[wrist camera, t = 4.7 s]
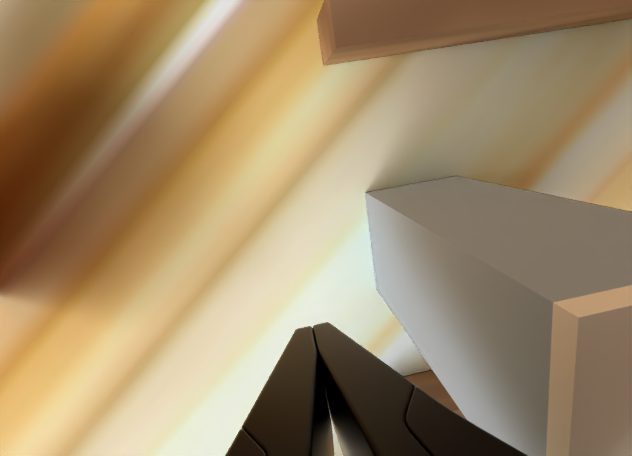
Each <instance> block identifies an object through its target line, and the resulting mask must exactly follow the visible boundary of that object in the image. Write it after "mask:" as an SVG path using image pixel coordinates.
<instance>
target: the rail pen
mask: <svg viewBox="0 0 632 456" xmlns="http://www.w3.org/2000/svg"><path fill="white" fill-rule="evenodd" d="M627 19H632V0H324V3H323V6H322V8H321V11H320V13H319V16H318V19H317V24H318V31H319V38H320V45H321V52H322V59H323V65H330V64H337V63H343V62H350V61H356V60H363V59H370V58H376V57H383V56H389V55H396V54H403V53H409V52H416V51H422V50H429V49H436V48H442V47H449V46H455V45H462V44H469V43H475V42H482V41H488V40H495V39H502V38H508V37H515V36H521V35H528V34H535V33H541V32H548V31H554V30H561V29H568V28H574V27H581V26H587V25H594V24H601V23H607V22H614V21H620V20H627ZM405 378H406V379H407V380H409V381H410V382H411V383H413V384H414V385H415V387H419V388H420V389H421V390H423V391H424V392H425V393H427V394H428V395H430V396H431V397H432V398H434V399H435V400H437V401H438V402H440V403H441V404H443V405H444V406H446V407H447V408H449V409H450V410H452V411H453V412H455V413H456V414H458V415H460V416H461V417H463V418H465V416H464V415H463V413H462V412H461V411H460V409H459V408H458V406H457V405H456V403H455V402H454V400H453V399H452V398H451V396H450V395H449V393H448V392H447V390H446V389H445V387H444V386H443V385H442V383H441V382H440V380H439V379H438V377H437V376H436V374H435V373H434V372H433V370H431V371H427V372H422V373H418V374H414V375H409V376H405ZM465 419H466V418H465ZM466 420H467V419H466Z"/></svg>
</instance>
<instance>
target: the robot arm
mask: <svg viewBox="0 0 632 456" xmlns="http://www.w3.org/2000/svg"><path fill="white" fill-rule="evenodd" d="M329 410H330V412H329ZM330 414H331V417H330ZM331 419H332V422H333V425H334V429H335V432H336V435H337V438H338V441H339V444H340V446H341V449H342V452H343V455H344V456H528V455H526V454H524V453H523V452H521V451H519V450H518V449H516V448H514V447H512V446H511V445H509V444H507V443H505V442H504V441H502V440H500V439H499V438H497V437H495V436H493V435H492V434H490V433H488V432H486V431H485V430H483V429H481V428H479V427H478V426H476V425H475V424H473V423H471V422H470V421H468V420H466V419H465V418H463V417H461V416H460V415H458V414H456V413H455V412H453V411H452V410H450V409H449V408H447V407H446V406H444V405H443V404H441V403H440V402H438V401H437V400H435V399H434V398H432V397H431V396H430V395H428V394H427V393H425V392H424V391H423V390H421V389H420V388H419V387H415V385H414V384H413V383H411V382H410V381H409V380H407V379H406V378H405V377H403V376H402V375H400V374H399V373H398V372H396V371H395V370H394V369H392V368H391V367H389V366H388V365H387V364H385V363H384V362H383V361H381V360H380V359H378V358H377V357H376V356H374V355H373V354H372V353H370V352H369V351H367V350H366V349H365V348H363V347H362V346H360V345H359V344H358V343H356V342H355V341H354V340H352V339H351V338H349V337H348V336H347V335H345V334H344V333H343V332H341V331H340V330H338V329H337V328H336V327H334V326H333V325H332V324H330V323H328V322H326V323H321V324H317V325H314V326H313V328H312V327H311V326H308V327H304V328H299V329H296V330H295V332H294V334H293V336H292V337H291V339H290V341H289V343H288V345H287V346H286V348H285V350H284V352H283V354H282V355H281V357H280V359H279V361H278V363H277V364H276V366H275V368H274V370H273V372H272V373H271V375H270V377H269V379H268V381H267V382H266V384H265V386H264V388H263V390H262V391H261V393H260V395H259V397H258V399H257V400H256V402H255V404H254V406H253V408H252V409H251V411H250V413H249V415H248V417H247V418H246V420H245V422H244V424H243V426H242V429H241V430H240V431H239V432H238V434H237V436H236V438H235V440H234V441H233V443H232V445H231V447H230V448H229V450H228V452H227V453H226V455H225V456H334V447H333V435H332V425H331Z"/></svg>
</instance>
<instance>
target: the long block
mask: <svg viewBox="0 0 632 456" xmlns="http://www.w3.org/2000/svg"><path fill="white" fill-rule="evenodd" d="M365 196H366V204H367V213H368V221H369V230H370V238H371V246H372V255H373V263H374V271H375V280H376V288H377V291H378V292H379V294H380V295H381V297H382V298H383V299H384V301H385V302H386V304H387V305H388V307H389V308H390V310H391V311H392V312H393V314H394V315H395V317H396V318H397V320H398V321H399V323H400V324H401V325H402V327H403V328H404V330H405V331H406V333H407V334H408V336H409V337H410V338H411V340H412V341H413V343H414V344H415V346H416V347H417V348H418V350H419V351H420V353H421V354H422V356H423V357H424V359H425V360H426V361H427V363H428V364H429V366H430V367H431V369H432V370H433V372H434V373H435V374H436V376H437V377H438V379H439V380H440V382H441V383H442V385H443V386H444V387H445V389H446V390H447V392H448V393H449V395H450V396H451V398H452V399H453V400H454V402H455V403H456V405H457V406H458V408H459V409H460V411H461V412H462V413H463V415H464V416H465V418H466V419H467V420H468V421H470V422H471V423H473V424H475V425H476V426H478V427H479V428H481V429H483V430H485V431H486V432H488V433H490V434H492V435H493V436H495V437H497V438H499V439H500V440H502V441H504V442H505V443H507V444H509V445H511V446H512V447H514V448H516V449H518V450H519V451H521V452H523V453H524V454H526V455H528V456H632V212H630V211H625V210H620V209H616V208H611V207H606V206H601V205H596V204H591V203H586V202H581V201H577V200H572V199H567V198H562V197H557V196H552V195H547V194H542V193H538V192H533V191H528V190H523V189H518V188H513V187H508V186H503V185H499V184H494V183H489V182H484V181H479V180H474V179H469V178H464V177H460V176H452V177H447V178H442V179H436V180H431V181H425V182H420V183H414V184H409V185H404V186H398V187H393V188H387V189H382V190H377V191H371V192H366V193H365Z"/></svg>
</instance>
